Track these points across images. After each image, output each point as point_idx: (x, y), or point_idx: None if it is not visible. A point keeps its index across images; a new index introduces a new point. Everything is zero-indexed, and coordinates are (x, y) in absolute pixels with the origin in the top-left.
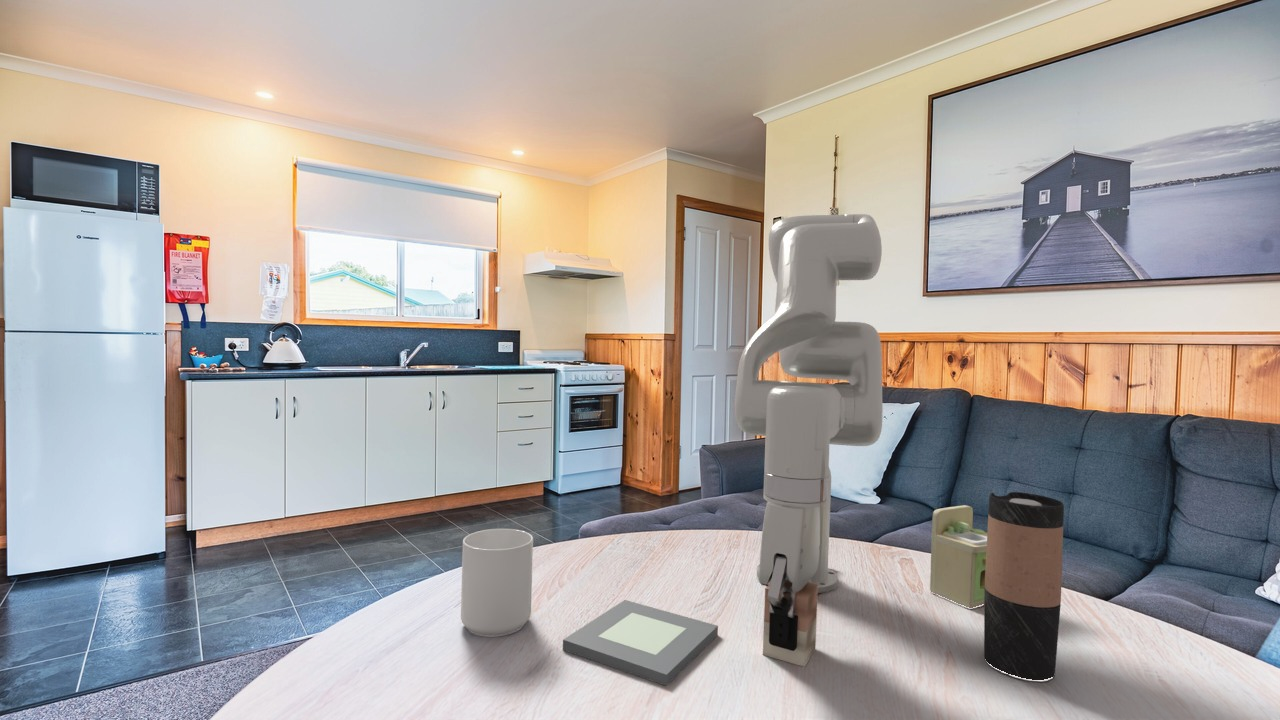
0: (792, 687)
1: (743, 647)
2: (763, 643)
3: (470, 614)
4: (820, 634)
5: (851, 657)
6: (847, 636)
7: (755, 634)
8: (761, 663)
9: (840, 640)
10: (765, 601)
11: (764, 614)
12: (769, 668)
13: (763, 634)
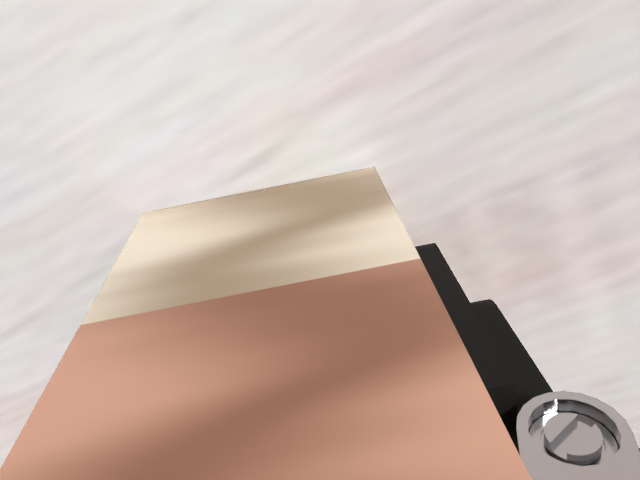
0: (18, 426)
1: (119, 85)
2: (128, 243)
3: None
4: (572, 303)
5: None
6: (619, 385)
7: (333, 45)
8: (60, 252)
9: (560, 382)
10: (9, 469)
11: (57, 367)
12: (57, 300)
13: (112, 269)
